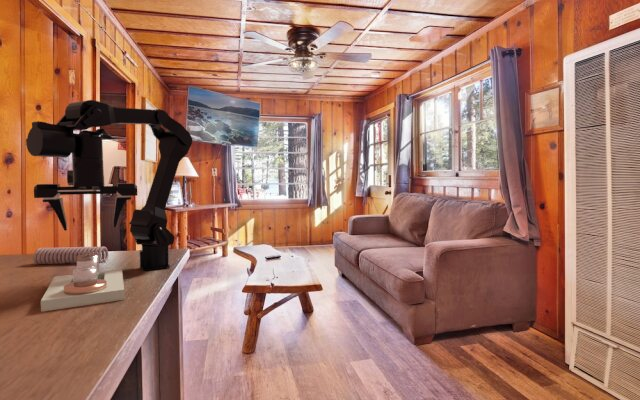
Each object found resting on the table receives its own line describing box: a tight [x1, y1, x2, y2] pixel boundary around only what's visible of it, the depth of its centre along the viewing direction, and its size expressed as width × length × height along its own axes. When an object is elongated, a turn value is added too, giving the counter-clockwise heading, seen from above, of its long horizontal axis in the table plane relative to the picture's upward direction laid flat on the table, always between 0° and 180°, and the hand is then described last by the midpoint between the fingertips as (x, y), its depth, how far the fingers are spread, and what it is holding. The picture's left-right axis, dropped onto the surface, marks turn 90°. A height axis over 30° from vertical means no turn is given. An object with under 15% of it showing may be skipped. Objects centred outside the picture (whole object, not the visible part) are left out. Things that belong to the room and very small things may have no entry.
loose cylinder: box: [76, 253, 100, 279], centre depth 77 cm, size 4×4×7 cm
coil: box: [32, 246, 109, 265], centre depth 100 cm, size 5×5×18 cm
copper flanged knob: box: [64, 267, 107, 295], centre depth 69 cm, size 7×7×4 cm
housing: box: [40, 268, 125, 312], centre depth 74 cm, size 13×18×2 cm
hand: (90, 228), depth 79 cm, fingers open, 9 cm apart
